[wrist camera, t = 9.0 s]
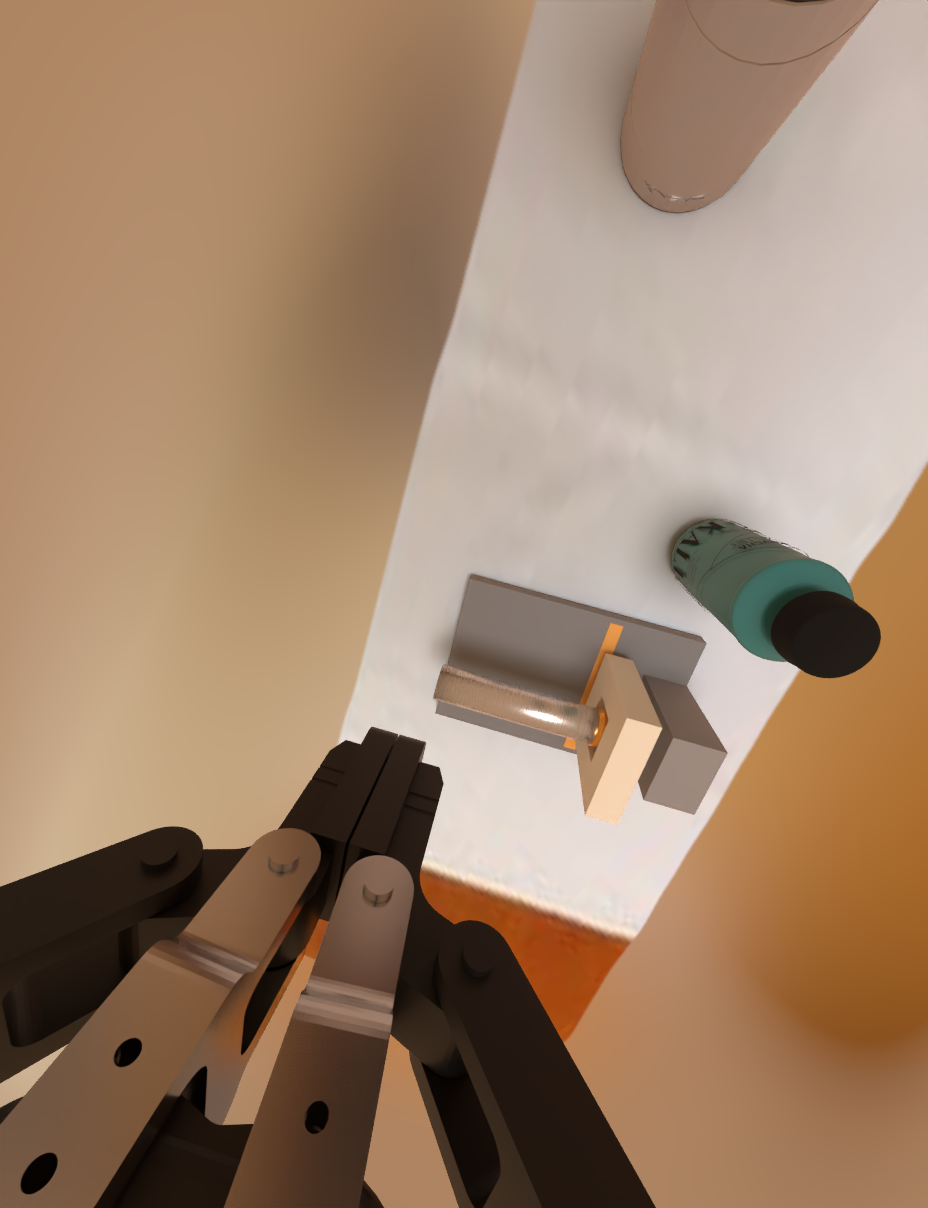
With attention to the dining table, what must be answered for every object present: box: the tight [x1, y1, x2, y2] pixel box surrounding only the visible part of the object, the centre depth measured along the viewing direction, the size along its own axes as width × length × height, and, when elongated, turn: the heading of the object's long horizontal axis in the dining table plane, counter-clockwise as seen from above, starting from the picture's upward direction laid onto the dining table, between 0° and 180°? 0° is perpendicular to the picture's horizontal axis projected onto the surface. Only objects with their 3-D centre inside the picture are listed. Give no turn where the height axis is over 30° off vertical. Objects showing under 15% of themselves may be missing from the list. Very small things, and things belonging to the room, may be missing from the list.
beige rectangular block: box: [575, 653, 662, 825], centre depth 39 cm, size 9×2×11 cm, turn 166°
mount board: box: [436, 574, 727, 815], centre depth 41 cm, size 15×22×12 cm
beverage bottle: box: [671, 519, 881, 678], centre depth 32 cm, size 6×7×20 cm
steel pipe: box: [433, 665, 655, 757], centre depth 39 cm, size 3×19×3 cm, turn 76°
